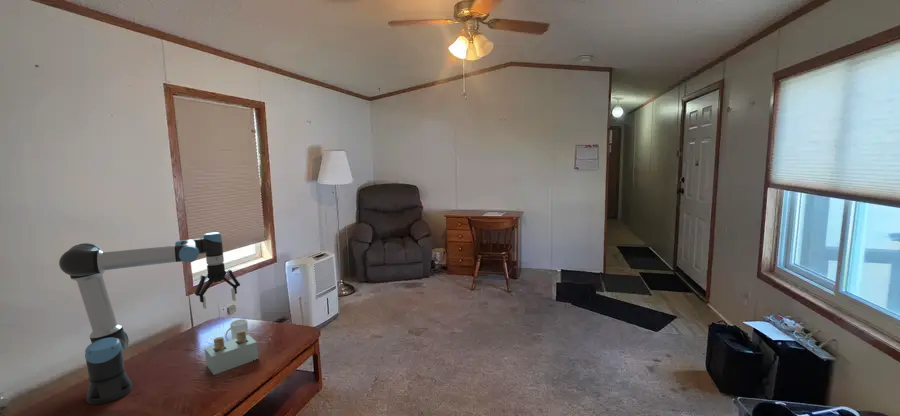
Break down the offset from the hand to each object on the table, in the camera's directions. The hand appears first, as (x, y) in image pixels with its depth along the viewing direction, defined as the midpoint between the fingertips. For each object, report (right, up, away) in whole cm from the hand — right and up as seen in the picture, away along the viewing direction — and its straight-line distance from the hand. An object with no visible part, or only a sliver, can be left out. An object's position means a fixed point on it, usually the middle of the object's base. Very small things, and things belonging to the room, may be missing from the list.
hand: (219, 304), depth 206 cm
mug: (+2, -25, +13) cm, 28 cm away
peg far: (+13, -22, -3) cm, 26 cm away
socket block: (+10, -27, -6) cm, 30 cm away
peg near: (+6, -23, -10) cm, 26 cm away
